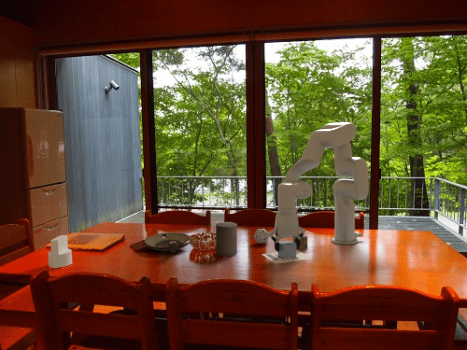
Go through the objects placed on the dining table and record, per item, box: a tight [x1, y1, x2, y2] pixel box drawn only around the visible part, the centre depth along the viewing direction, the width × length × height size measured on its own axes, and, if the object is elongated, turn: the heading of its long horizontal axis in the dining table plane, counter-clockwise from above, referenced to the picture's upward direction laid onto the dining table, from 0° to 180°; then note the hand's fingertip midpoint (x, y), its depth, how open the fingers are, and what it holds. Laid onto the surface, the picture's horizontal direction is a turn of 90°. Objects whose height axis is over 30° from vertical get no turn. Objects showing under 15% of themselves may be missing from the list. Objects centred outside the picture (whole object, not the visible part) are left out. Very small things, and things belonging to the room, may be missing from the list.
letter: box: [261, 249, 313, 265], centre depth 169 cm, size 18×14×1 cm
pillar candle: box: [215, 221, 238, 257], centre depth 175 cm, size 10×10×15 cm
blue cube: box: [278, 240, 297, 259], centre depth 168 cm, size 6×6×6 cm
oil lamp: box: [143, 232, 191, 253], centre depth 182 cm, size 22×30×8 cm
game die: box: [251, 227, 270, 246], centre depth 190 cm, size 9×8×10 cm
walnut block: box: [292, 234, 309, 251], centre depth 182 cm, size 5×5×6 cm
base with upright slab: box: [47, 234, 73, 268], centre depth 162 cm, size 9×9×12 cm
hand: (287, 249), depth 168 cm, fingers open, 9 cm apart
